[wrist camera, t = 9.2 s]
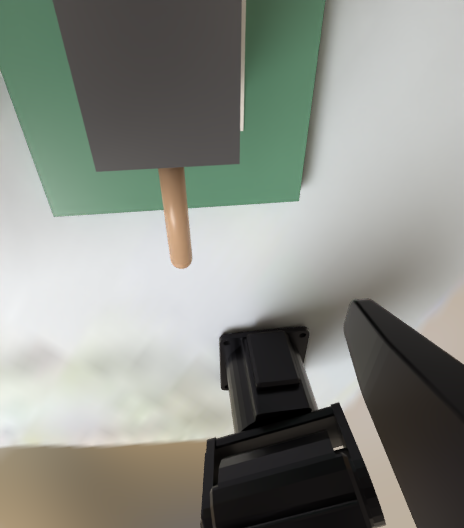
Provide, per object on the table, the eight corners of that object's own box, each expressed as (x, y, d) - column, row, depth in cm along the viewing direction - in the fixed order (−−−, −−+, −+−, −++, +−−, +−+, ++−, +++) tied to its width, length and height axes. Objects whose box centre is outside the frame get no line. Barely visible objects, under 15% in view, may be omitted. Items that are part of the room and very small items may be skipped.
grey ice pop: (221, 198, 18) (238, 279, 13) (138, 204, 17) (125, 288, 13) (213, -124, 11) (244, -193, 6) (76, -127, 10) (0, -204, 6)
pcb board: (293, 191, 19) (316, 234, 16) (58, 206, 18) (35, 254, 15) (362, -383, 9) (460, -565, 6) (-163, -437, 8) (-379, -699, 5)
